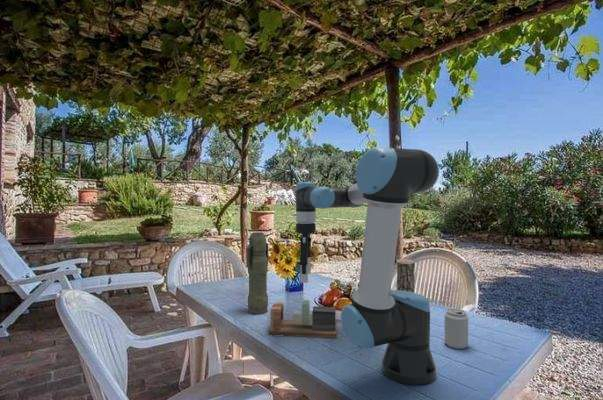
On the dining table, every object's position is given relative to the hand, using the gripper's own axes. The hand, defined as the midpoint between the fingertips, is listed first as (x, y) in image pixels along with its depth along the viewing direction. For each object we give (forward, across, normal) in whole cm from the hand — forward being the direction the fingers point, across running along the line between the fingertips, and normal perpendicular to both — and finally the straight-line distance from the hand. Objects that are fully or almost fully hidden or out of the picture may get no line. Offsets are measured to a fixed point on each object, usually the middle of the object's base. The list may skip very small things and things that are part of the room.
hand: (305, 278), depth 134 cm
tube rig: (+20, 0, -1) cm, 20 cm away
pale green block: (+17, 0, +3) cm, 17 cm away
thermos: (+20, -20, -23) cm, 37 cm away
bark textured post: (+20, -13, +40) cm, 46 cm away
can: (+20, +8, +53) cm, 57 cm away
